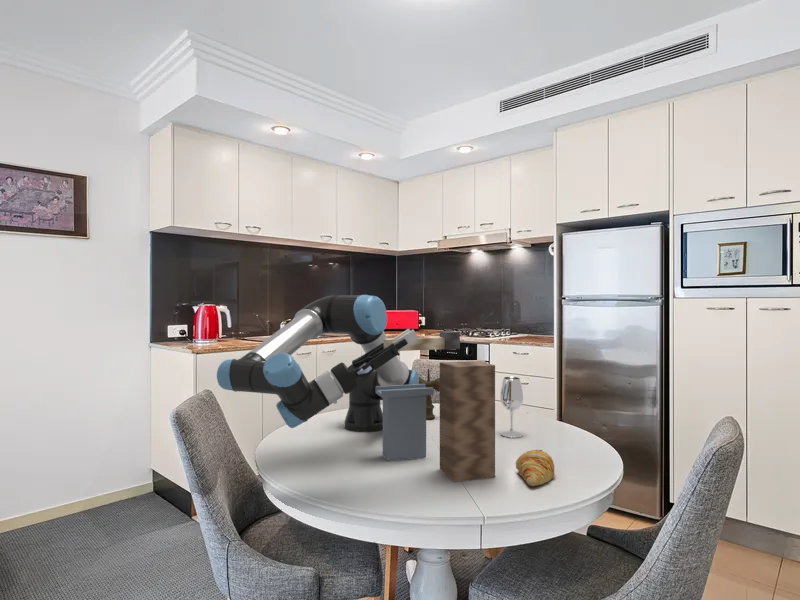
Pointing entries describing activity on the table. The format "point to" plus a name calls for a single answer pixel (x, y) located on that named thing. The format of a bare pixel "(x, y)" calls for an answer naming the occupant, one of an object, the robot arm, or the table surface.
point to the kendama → (429, 405)
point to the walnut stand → (467, 420)
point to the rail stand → (404, 420)
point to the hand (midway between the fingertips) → (413, 333)
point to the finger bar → (432, 342)
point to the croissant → (535, 467)
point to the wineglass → (511, 401)
